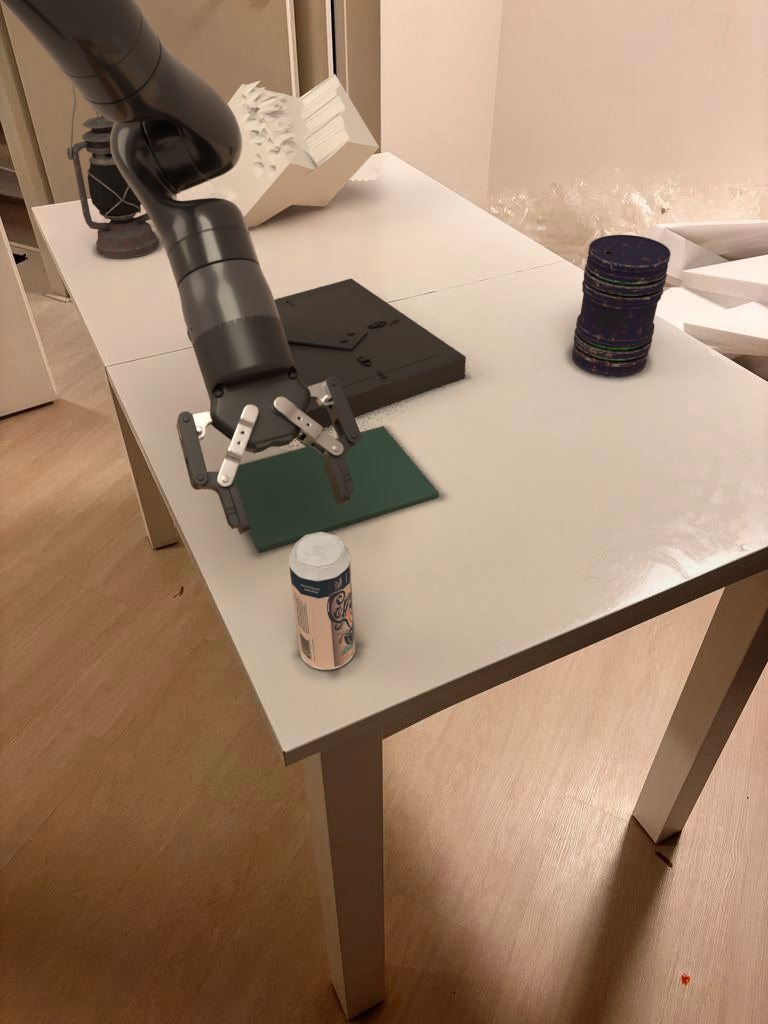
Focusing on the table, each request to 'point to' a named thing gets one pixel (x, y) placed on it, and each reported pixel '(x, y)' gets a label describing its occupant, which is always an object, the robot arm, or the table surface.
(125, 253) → the lantern
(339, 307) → the black flat block
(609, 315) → the dark blue cylinder
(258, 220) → the white angular faceted block
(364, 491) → the mat
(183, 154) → the robot arm
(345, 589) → the beer can
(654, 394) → the table surface
